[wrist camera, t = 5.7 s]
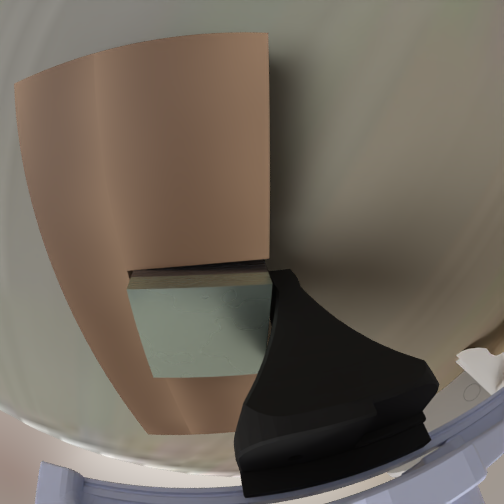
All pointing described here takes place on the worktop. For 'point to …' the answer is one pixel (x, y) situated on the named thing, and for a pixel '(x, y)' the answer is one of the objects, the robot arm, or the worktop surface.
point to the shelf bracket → (483, 367)
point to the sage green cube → (203, 318)
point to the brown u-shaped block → (150, 194)
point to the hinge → (448, 408)
